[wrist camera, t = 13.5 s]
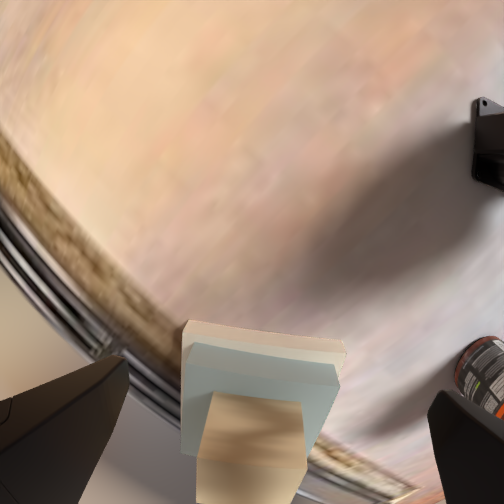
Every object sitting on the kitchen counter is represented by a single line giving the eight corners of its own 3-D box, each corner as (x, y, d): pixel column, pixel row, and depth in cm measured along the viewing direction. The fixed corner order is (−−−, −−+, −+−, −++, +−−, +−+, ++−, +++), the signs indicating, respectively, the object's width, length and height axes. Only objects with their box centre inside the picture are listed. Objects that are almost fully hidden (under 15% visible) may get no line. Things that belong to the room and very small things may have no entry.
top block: (333, 364, 20) (340, 386, 17) (298, 449, 22) (299, 471, 20) (194, 341, 20) (185, 362, 18) (186, 431, 22) (180, 453, 20)
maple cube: (301, 401, 18) (307, 469, 13) (284, 452, 19) (285, 512, 14) (213, 390, 18) (196, 457, 13) (209, 443, 19) (196, 502, 14)
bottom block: (339, 335, 22) (346, 353, 20) (306, 433, 25) (308, 453, 23) (191, 315, 22) (182, 331, 20) (186, 418, 25) (180, 437, 23)
